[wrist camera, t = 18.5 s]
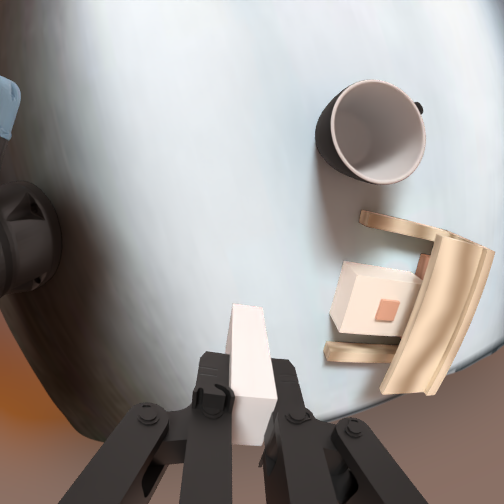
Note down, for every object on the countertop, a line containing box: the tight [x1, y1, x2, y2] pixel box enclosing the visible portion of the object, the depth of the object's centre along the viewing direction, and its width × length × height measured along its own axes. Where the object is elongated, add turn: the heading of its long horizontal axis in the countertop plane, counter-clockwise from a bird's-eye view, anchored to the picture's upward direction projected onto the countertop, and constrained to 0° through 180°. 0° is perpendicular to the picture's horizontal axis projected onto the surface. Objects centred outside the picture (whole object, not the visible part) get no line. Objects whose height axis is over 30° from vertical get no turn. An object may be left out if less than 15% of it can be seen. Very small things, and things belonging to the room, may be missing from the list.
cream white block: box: [329, 261, 423, 337], centre depth 34 cm, size 10×7×6 cm
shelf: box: [323, 210, 495, 395], centre depth 32 cm, size 14×19×10 cm
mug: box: [315, 80, 426, 185], centre depth 26 cm, size 12×9×10 cm
